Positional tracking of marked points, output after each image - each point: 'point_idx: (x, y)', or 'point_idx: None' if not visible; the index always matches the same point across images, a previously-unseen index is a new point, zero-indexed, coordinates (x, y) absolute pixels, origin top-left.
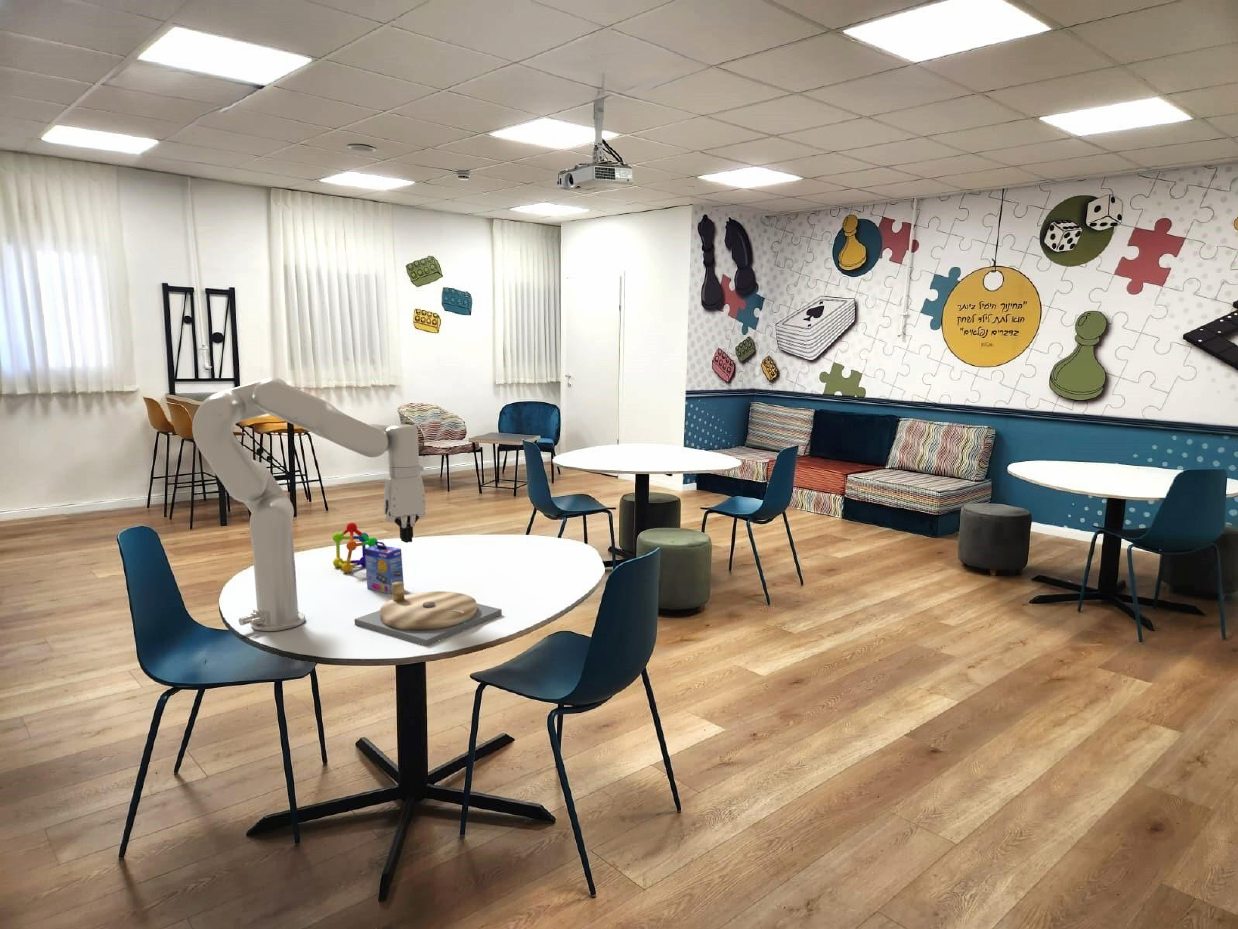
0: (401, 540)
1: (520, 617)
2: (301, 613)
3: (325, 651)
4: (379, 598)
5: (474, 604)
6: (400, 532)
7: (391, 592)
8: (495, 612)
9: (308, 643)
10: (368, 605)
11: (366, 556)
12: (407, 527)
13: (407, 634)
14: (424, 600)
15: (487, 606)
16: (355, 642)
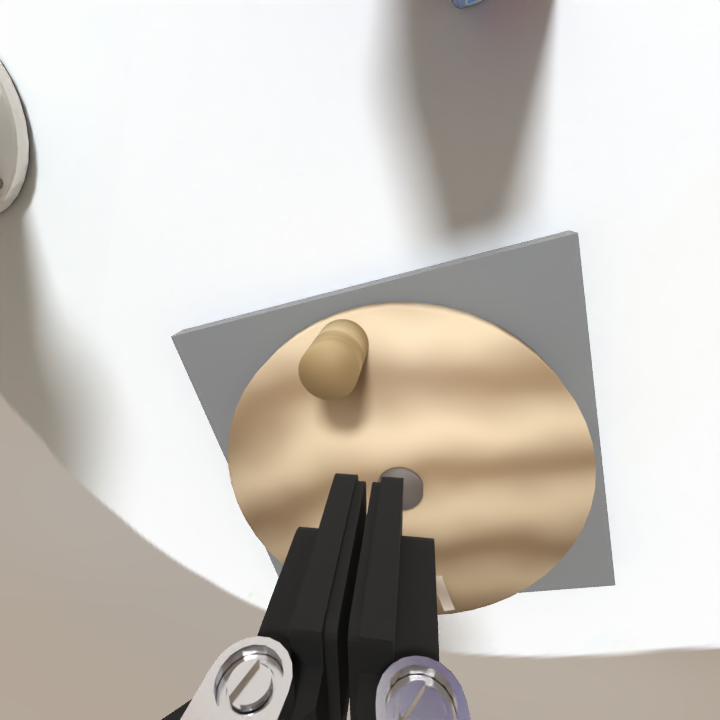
0: (336, 475)
1: (630, 615)
2: (2, 107)
3: (74, 463)
4: (375, 53)
5: (533, 576)
6: (278, 597)
7: (462, 5)
8: (580, 586)
9: (36, 383)
10: (292, 134)
11: None
12: (352, 711)
13: (268, 553)
14: (421, 425)
15: (604, 537)
16: (152, 461)
